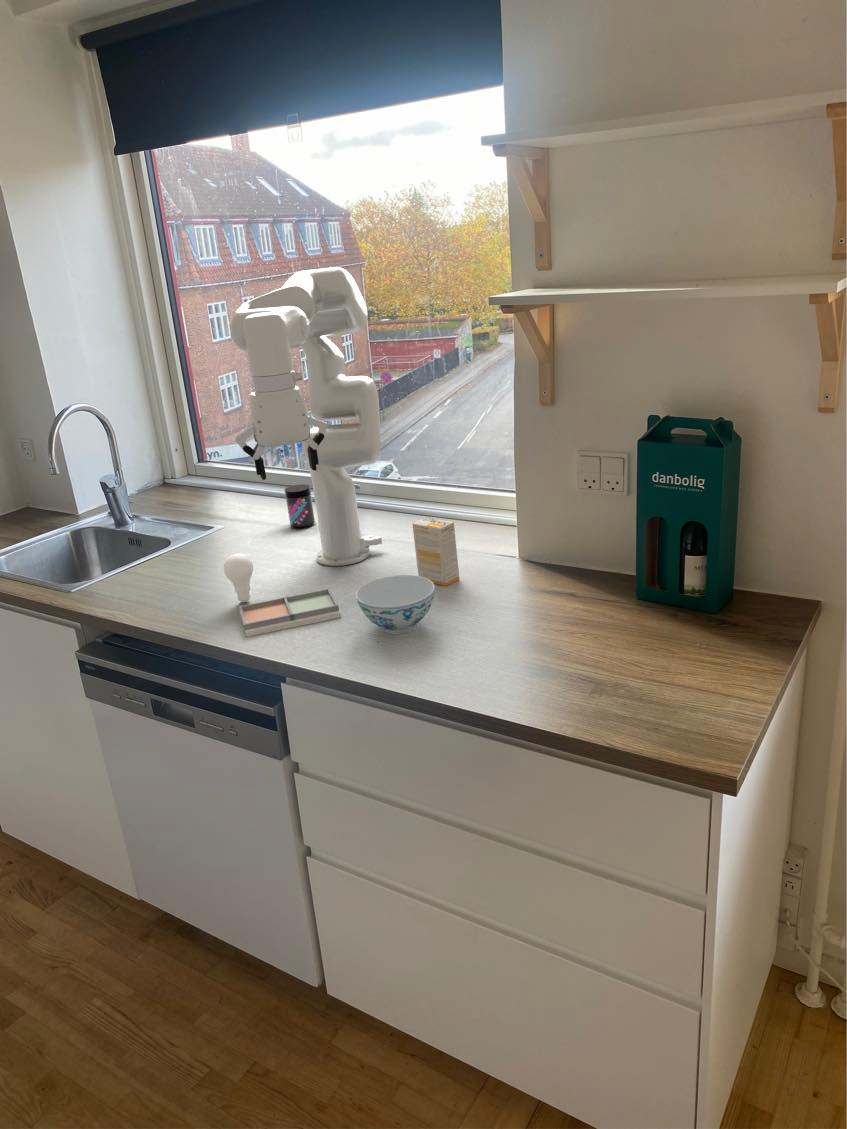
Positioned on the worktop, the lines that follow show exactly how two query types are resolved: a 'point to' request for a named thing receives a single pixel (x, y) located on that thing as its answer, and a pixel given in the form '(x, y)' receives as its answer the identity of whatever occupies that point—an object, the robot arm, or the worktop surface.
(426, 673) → the worktop surface
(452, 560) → the supplement box
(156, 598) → the worktop surface
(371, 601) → the chinaware
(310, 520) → the supplement container
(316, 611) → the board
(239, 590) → the lightbulb
